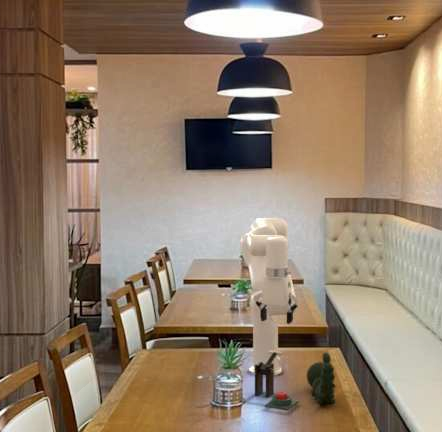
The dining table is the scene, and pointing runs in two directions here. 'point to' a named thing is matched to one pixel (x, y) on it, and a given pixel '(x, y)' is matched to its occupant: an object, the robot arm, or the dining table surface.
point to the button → (281, 395)
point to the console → (281, 403)
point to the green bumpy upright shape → (322, 380)
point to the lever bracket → (268, 380)
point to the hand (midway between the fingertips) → (276, 321)
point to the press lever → (263, 366)
